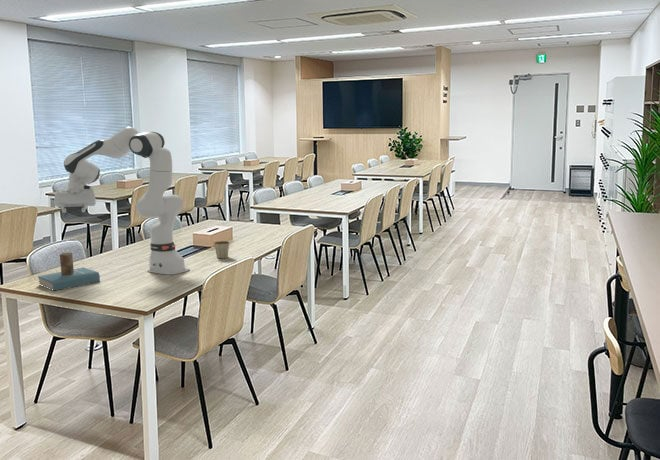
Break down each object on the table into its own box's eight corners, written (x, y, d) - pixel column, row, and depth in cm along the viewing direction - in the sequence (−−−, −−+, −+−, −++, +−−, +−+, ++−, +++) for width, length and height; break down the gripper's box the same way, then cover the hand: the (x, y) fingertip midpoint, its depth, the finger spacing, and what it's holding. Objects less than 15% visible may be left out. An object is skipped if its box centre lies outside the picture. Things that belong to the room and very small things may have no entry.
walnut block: (73, 272, 294) (72, 252, 292) (71, 274, 290) (69, 254, 288) (64, 272, 294) (62, 252, 292) (61, 275, 289) (59, 254, 287)
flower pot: (210, 258, 343) (209, 243, 341) (220, 254, 351) (220, 240, 350) (223, 259, 339) (223, 244, 337) (233, 256, 347) (233, 241, 345)
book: (84, 277, 305) (83, 267, 304) (100, 282, 295) (99, 272, 294) (38, 286, 288) (37, 276, 288) (53, 292, 278) (52, 282, 277)
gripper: (53, 187, 313) (50, 208, 306) (95, 186, 317) (93, 207, 309) (56, 195, 319) (53, 216, 311) (97, 194, 322) (95, 214, 315)
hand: (73, 211), depth 310 cm, fingers open, 8 cm apart
